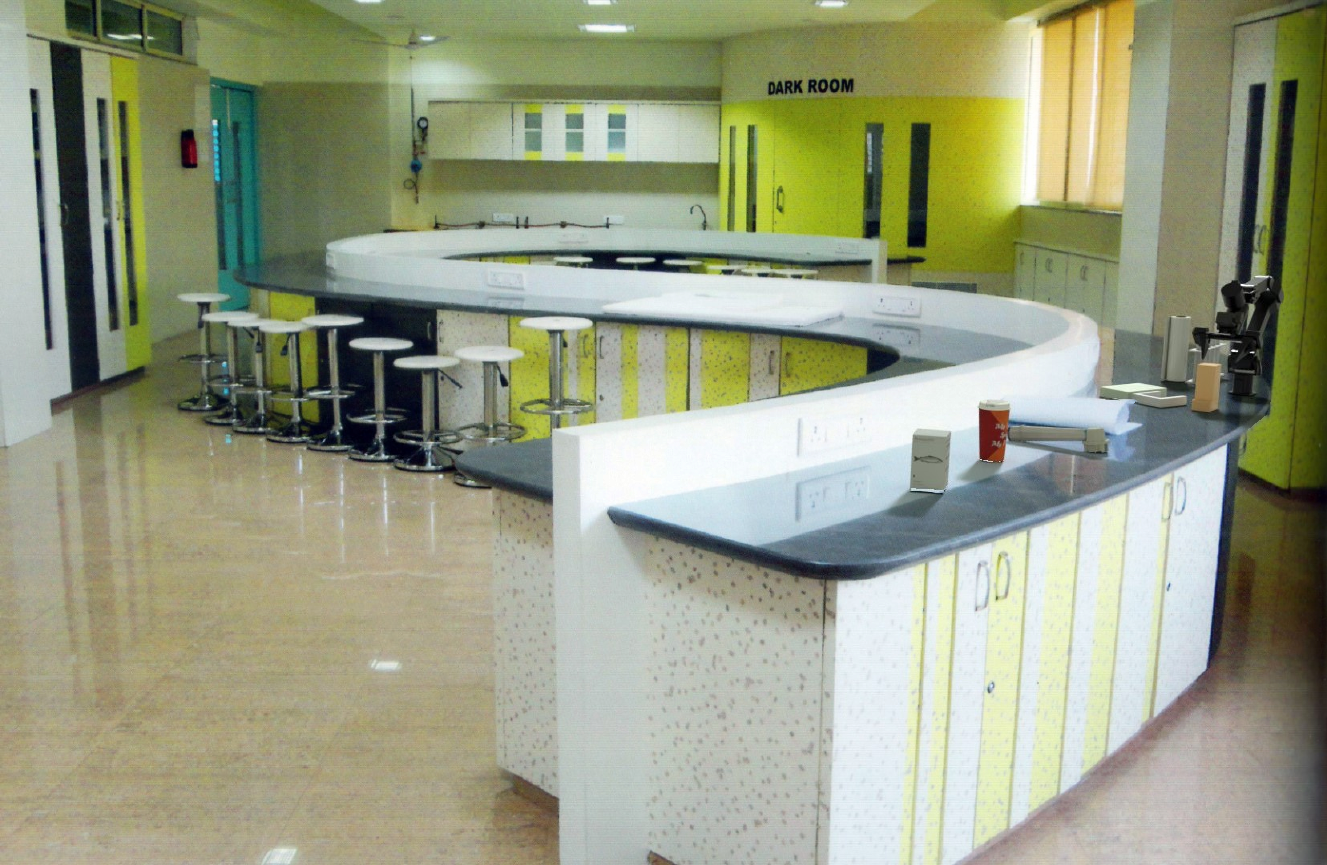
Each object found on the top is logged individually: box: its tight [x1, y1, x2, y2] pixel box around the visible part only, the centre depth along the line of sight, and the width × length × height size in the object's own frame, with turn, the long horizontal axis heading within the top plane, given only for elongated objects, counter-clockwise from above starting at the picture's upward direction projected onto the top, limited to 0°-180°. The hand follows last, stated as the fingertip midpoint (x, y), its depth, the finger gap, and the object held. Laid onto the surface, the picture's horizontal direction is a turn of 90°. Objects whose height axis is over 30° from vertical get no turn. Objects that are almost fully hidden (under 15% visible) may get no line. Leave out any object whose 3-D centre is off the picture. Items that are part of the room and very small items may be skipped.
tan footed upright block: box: [1191, 363, 1223, 413], centre depth 342 cm, size 7×5×13 cm
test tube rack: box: [1184, 339, 1228, 385], centre depth 395 cm, size 25×4×13 cm, turn 138°
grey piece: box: [1007, 424, 1111, 454], centre depth 296 cm, size 5×7×25 cm
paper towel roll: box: [1160, 315, 1192, 383], centre depth 392 cm, size 7×6×21 cm
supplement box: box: [909, 428, 952, 490], centre depth 254 cm, size 7×7×13 cm
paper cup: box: [977, 399, 1012, 463], centre depth 280 cm, size 8×8×14 cm
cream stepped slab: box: [1099, 382, 1188, 409], centre depth 359 cm, size 16×22×3 cm
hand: (1218, 360), depth 347 cm, fingers open, 9 cm apart
